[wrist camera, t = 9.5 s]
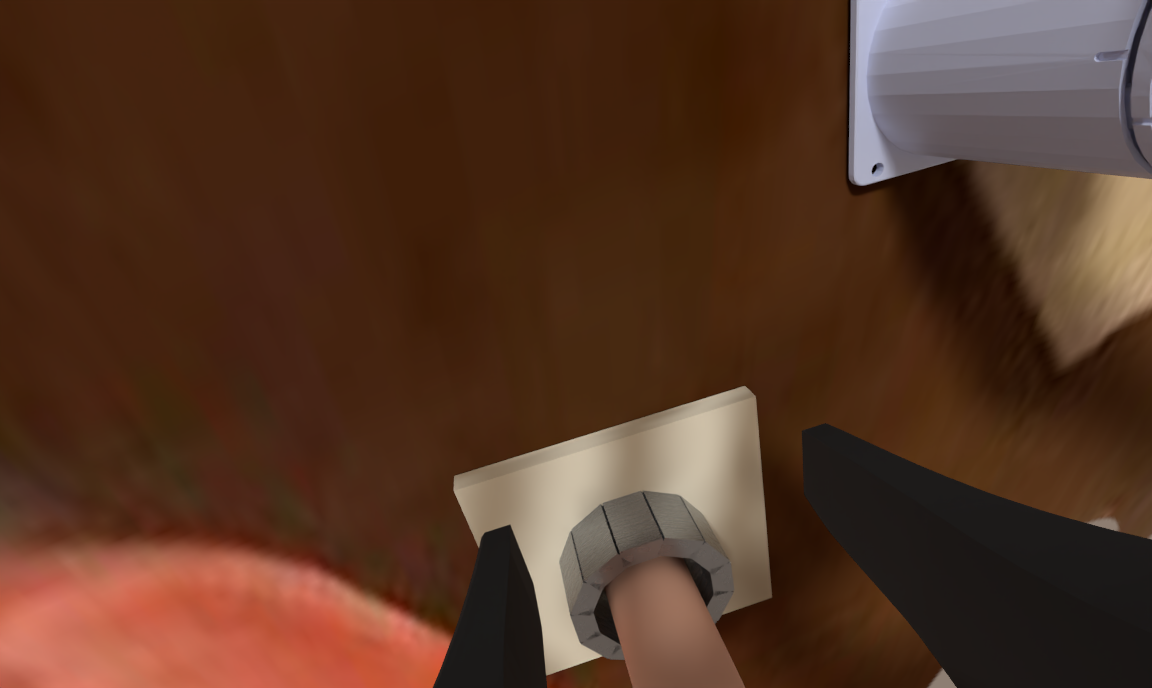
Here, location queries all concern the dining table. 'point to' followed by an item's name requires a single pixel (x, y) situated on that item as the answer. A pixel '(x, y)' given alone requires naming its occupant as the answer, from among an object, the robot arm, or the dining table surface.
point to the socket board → (632, 516)
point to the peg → (668, 628)
